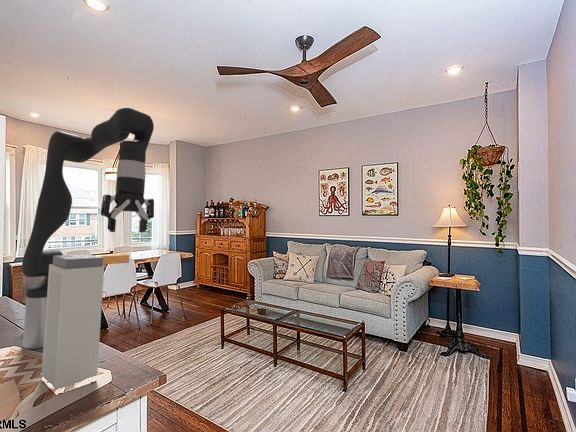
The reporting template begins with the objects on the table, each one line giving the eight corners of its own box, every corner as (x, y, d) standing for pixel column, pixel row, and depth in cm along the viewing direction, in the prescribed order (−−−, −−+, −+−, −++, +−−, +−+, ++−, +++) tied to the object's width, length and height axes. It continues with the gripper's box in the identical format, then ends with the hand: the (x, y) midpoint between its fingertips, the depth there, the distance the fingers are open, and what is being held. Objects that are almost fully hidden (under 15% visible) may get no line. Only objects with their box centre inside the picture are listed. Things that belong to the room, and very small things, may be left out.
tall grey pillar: (41, 379, 87) (49, 264, 88) (79, 368, 94) (87, 262, 95) (55, 395, 79) (64, 269, 80) (96, 381, 87) (104, 266, 88)
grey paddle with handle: (52, 264, 87) (53, 255, 88) (119, 260, 102) (119, 252, 102) (65, 268, 81) (66, 259, 81) (134, 264, 96) (134, 255, 96)
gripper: (148, 181, 100) (145, 231, 100) (99, 174, 89) (95, 231, 89) (160, 180, 96) (157, 233, 95) (110, 172, 84) (106, 232, 84)
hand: (127, 232), depth 92 cm, fingers open, 8 cm apart
